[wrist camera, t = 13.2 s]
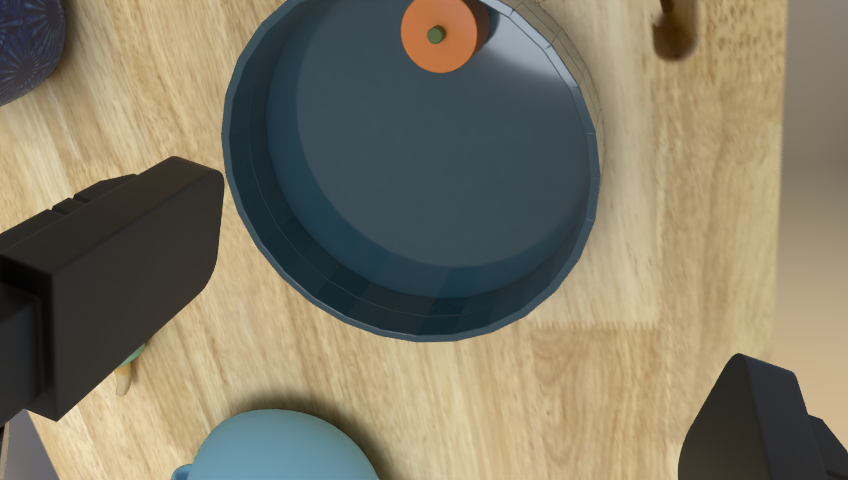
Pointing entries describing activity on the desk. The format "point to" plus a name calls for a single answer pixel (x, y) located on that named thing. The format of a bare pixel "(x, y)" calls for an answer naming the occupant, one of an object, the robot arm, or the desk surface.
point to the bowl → (414, 166)
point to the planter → (29, 44)
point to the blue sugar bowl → (277, 450)
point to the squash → (444, 32)
